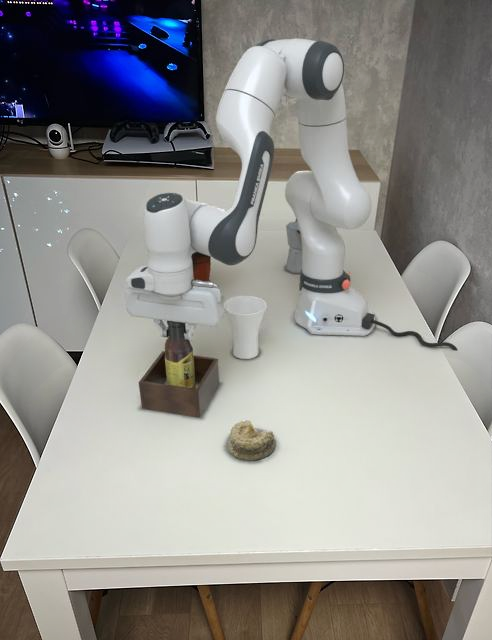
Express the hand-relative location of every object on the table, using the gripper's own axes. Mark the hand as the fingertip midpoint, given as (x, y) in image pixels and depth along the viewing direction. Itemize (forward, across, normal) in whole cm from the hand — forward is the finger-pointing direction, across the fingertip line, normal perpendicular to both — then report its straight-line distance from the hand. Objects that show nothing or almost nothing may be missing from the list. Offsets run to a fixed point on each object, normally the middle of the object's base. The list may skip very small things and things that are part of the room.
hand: (177, 337), depth 131 cm
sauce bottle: (+15, 0, 0) cm, 15 cm away
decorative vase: (+16, +14, -46) cm, 50 cm away
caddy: (+15, 0, 0) cm, 15 cm away
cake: (+15, -20, +13) cm, 28 cm away
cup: (+15, -9, -22) cm, 28 cm away
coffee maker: (+16, -11, -79) cm, 81 cm away
